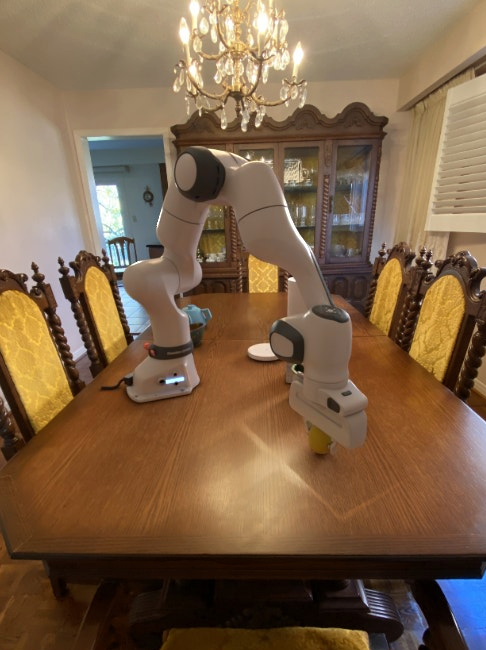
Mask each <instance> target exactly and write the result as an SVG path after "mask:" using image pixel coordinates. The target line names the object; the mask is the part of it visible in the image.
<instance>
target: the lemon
mask: <svg viewBox="0 0 486 650" xmlns="http://www.w3.org/2000/svg"><path fill="white" fill-rule="evenodd" d="M331 442H333V441H331V437H330V436H328V435H327V434H326V433H324V432H323V431H322V430H320V429H319V428H318V427H316V426H315V425H313V426H312V428H311V430H310V432H309V436H308V444H309V446H310V448H311V450H313V452H314V453H316V454H320V455H325V454H328V453H330V452H329V451H327V444H329V443H331Z"/></svg>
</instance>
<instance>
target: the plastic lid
mask: <svg viewBox="0 0 486 650" xmlns="http://www.w3.org/2000/svg"><path fill="white" fill-rule="evenodd" d="M247 355H248V357H249V358H251V359H252V360H256V361H264V362H268V361H269V362H270V361H276V360H280V359H279V358H277V357H276V356H275V355H274V353H273V352H272V350H271V347H270V343H269V342H264V343H263V342H262V343H257V344H253V345H251V346H249V347H248V349H247Z"/></svg>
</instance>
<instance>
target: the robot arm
mask: <svg viewBox="0 0 486 650" xmlns="http://www.w3.org/2000/svg"><path fill="white" fill-rule="evenodd" d="M212 206H216V207H232V210H233V213H234V217H235V220H236V225H237V228H238V232H239V237H240V240H241V242H242V244H243V246H244V248H245V250H246V251H247V252H248V254H249V255H250V256H252V257H253V258H254V259H256V260H258V261H261V262H263V263H266V264H269V265H272V266H276V267H279V268H280V269H283V271H286V272H288V274H290V275H291V276H292V277H294V279H295V281H296V283H297V285H298V288H299V290H300V293H301V295H302V297H303V300H304V302H305V305H306V307H307V312H304V313H301V314H296V315H292V316H288V315H287V316H288V317H287V316H285V317H282V318H279V319H276V320H275V321H274V322H273V323H272V325H271V326H270V329H269V332H268V333H269V334H268V343H270V347H271V350H272V352H273V353H274V355H275V356H276V357H277V358H279V359H278V360H280V361H282V362H284V363H286V362H287V363H291V364H301V365H303V366H304V374H303V373H302V372H300V371H298V372H296V373H295V374H294V375H293V382H292V384H291V383H290V387H289V395H288V404H289V407H290V408H291V409H292V410H293V411H295V412H296V413H297V414H298V415H300V416H301V417H302V421H303V423H304V426H305V428H306V430H305V431H306V432H305V434H306V435H307V436H308V437H309V432H310V430H311V428H312V426H313V425H315V426H316V427H318V428H319V429H320V430H322V431H323V432H324V433H326V434H327V435H328V436H330V437H331V441H333V442H331V443H329V444H327V451H329V452H328V453H329V454H331V455H335V454H337V453H338V452H339V446H340V445H341V446H342V447H343V448H345V449H346V450H347V451H350V452H351V451H354V450H357V449H359V448H361V447H362V446H364V444H365V443H366V440H367V432H368V416H367V414H366V411H365V410H364V409H366V408H368V405H369V399H368V398H367V396H366V395H365V394H364V393H362V391H361V390H360V389H358V388H357V386H356V385H355V384H354V383H353V381H352V380H351V379H350V370H349V362H350V360H351V357H352V349H353V324H352V320H351V316H350V314H349V313H348V312H347V311H346V310H344V309H343V308H341V307H339V306H337V305H336V304H335V302H334V300H333V298H332V296H331V293H330V291H329V288H328V285H327V283H326V281H325V278H324V276H323V274H322V271H321V268H320V266H319V264H318V261H317V258H316V256H315V254H314V252H313V251H312V248H311V246H310V245H309V243H308V242H307V241H306V240H305V239H304V238H303V237H302V235H301V234H300V232H299V231H298V229H297V227H296V226H295V223H294V221H293V219H292V217H291V213H290V210H289V207H288V203H287V200H286V197H285V194H284V191H283V189H282V187H281V183H280V181H279V180H278V177H277V175H276V173H275V171H274V170H273V168H272V166H270V164H268V163H266V162H264V161H261V160H251V159H249V158H248V157H242V156H240V155H238V154H236V153H233V152H230V151H226V150H218V149H213V148H207V147H205V146H203V145H202V146H201V145H200V146H199V145H194V146H187V147H185V148H183V149H182V150H181V151H180V152H179V154H178V156H177V157H176V160H175V163H174V168H173V176H172V179H171V181H170V182H169V185H168V188H167V190H166V193H165V196H164V200H163V202H162V207H161V211H160V214H159V218H158V222H157V225H156V226H157V227H156V229H155V233H156V234H155V235H156V238H157V239H158V241H159V243H160V244H161V245H162V246H163V253H162V255H161V256H160V257H156V258H149V259H143V260H140V261H137V262H135V263H132V264H130V265H128V266H127V267H126V268H125V269H124V271H123V274H122V286H123V289H124V291H125V293H126V294H127V296H129V297H130V298H131V299H132V300H134V301H135V302H137V303H138V304H140V305H141V307H142V308H143V309H144V311H145V312H146V315H147V316H148V319H149V322H150V328H151V334H152V333H153V336H152V340H153V342H152V343H151V344H150V343H149V342H145V343H144V344H143V349H144V350H145V351H146V352H147V353H148V356H147V357H145V359H144V360H143V361H141V363H139V364H138V365H137V366H136V367H135V368H134V370H133V372H130V373H128V374H125V375H124V376H123V377H122V378H121V379H119V381H118V382H117V383H116V385H112V386H109V385H107V386H106V385H102V386H100V389H101V390H115V389H117V388H119V387H121V385H122V383H123V382H124V385H125V386H126V394H127V396H128V397H129V398H130V399H131V400H132V401H134V402H136V403H147V402H152V401H153V402H154V401H158V400H164V399H169V398H173V397H180V396H185V395H189V394H191V393H192V391H193V389H194V388H196V387H197V386H198V385H199V384H200V382H201V378H200V376H199V373H198V371H197V368H196V364H195V360H194V352H195V351H194V348H193V343H192V339H191V337H190V327H189V318H188V315H187V314H186V313H185V312H184V311H183V310H182V308H178V306H177V304H176V301H175V296H176V295H179V294H183V293H186V292H189V291H191V290H193V289H194V288H196V287H198V286H199V285H200V283H201V282H202V280H203V279H202V278H203V270H202V266H201V264H200V262H199V261H198V260H197V252H198V251H197V250H198V245H199V242H200V239H201V236H202V233H203V229H204V227H205V224H206V221H207V218H208V215H209V211H210V208H211V207H212Z"/></svg>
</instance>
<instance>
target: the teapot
mask: <svg viewBox="0 0 486 650" xmlns="http://www.w3.org/2000/svg"><path fill="white" fill-rule="evenodd" d="M186 306H187V307H186ZM186 306H185V307H183V308H181V310H183V311H184V312H185V313H186V314H187V315H188V318H189V324H194V323H204V327H205V326H206V325H207V323H208V322H209V321H210V320H211V319H212V318H213V315H212V313H211V311H210V309H209V307H207V308H202V309H201V308H200V307H198V306H196V304H187V305H186ZM204 313H205V314H206V315H205V314H204Z"/></svg>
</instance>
